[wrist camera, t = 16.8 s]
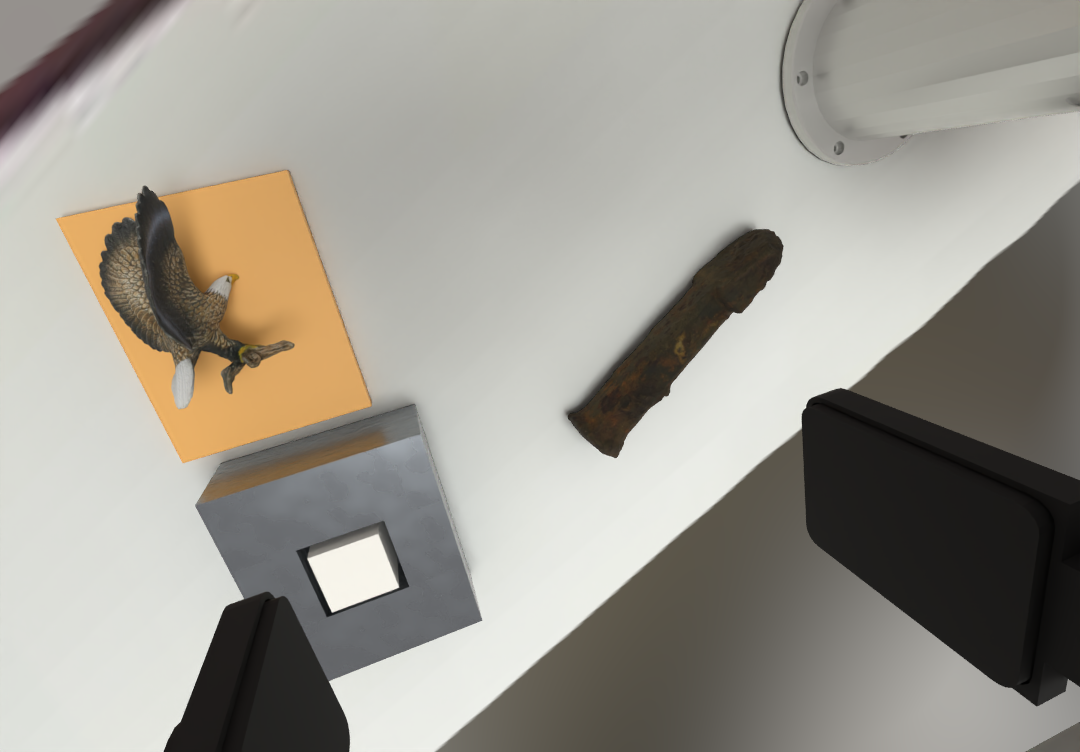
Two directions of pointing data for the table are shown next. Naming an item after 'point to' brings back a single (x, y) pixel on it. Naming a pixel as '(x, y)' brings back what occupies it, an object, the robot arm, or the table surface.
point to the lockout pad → (241, 315)
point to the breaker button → (355, 566)
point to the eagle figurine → (171, 298)
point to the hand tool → (678, 339)
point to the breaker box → (338, 508)
